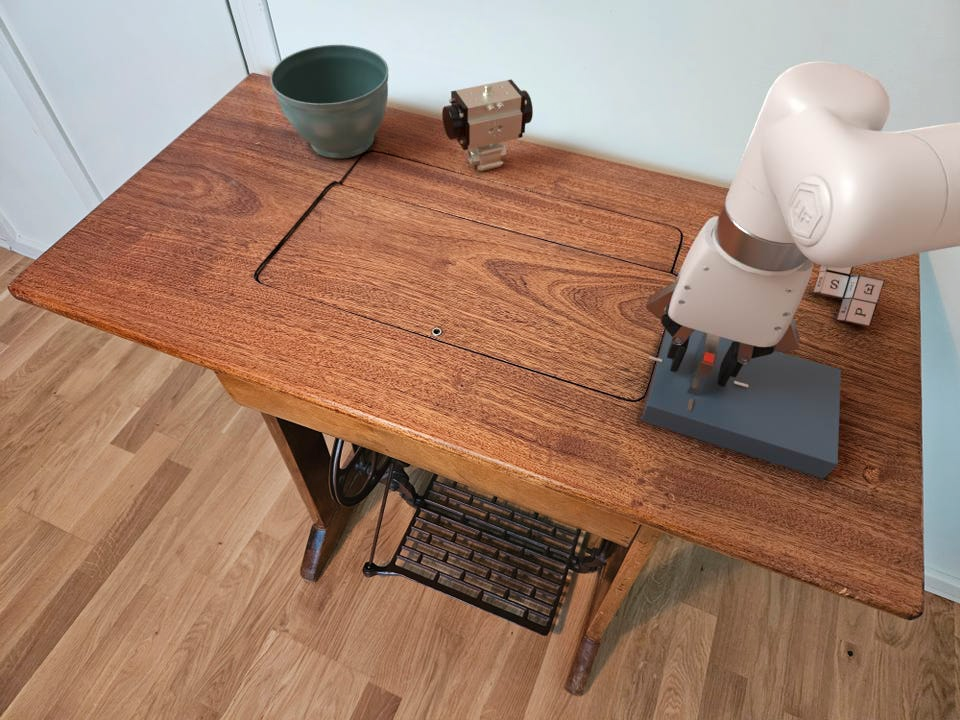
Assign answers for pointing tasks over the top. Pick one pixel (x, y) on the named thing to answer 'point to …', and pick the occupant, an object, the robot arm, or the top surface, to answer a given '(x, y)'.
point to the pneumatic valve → (487, 120)
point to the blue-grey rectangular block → (753, 407)
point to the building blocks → (850, 293)
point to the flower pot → (333, 97)
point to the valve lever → (703, 362)
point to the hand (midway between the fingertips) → (699, 367)
